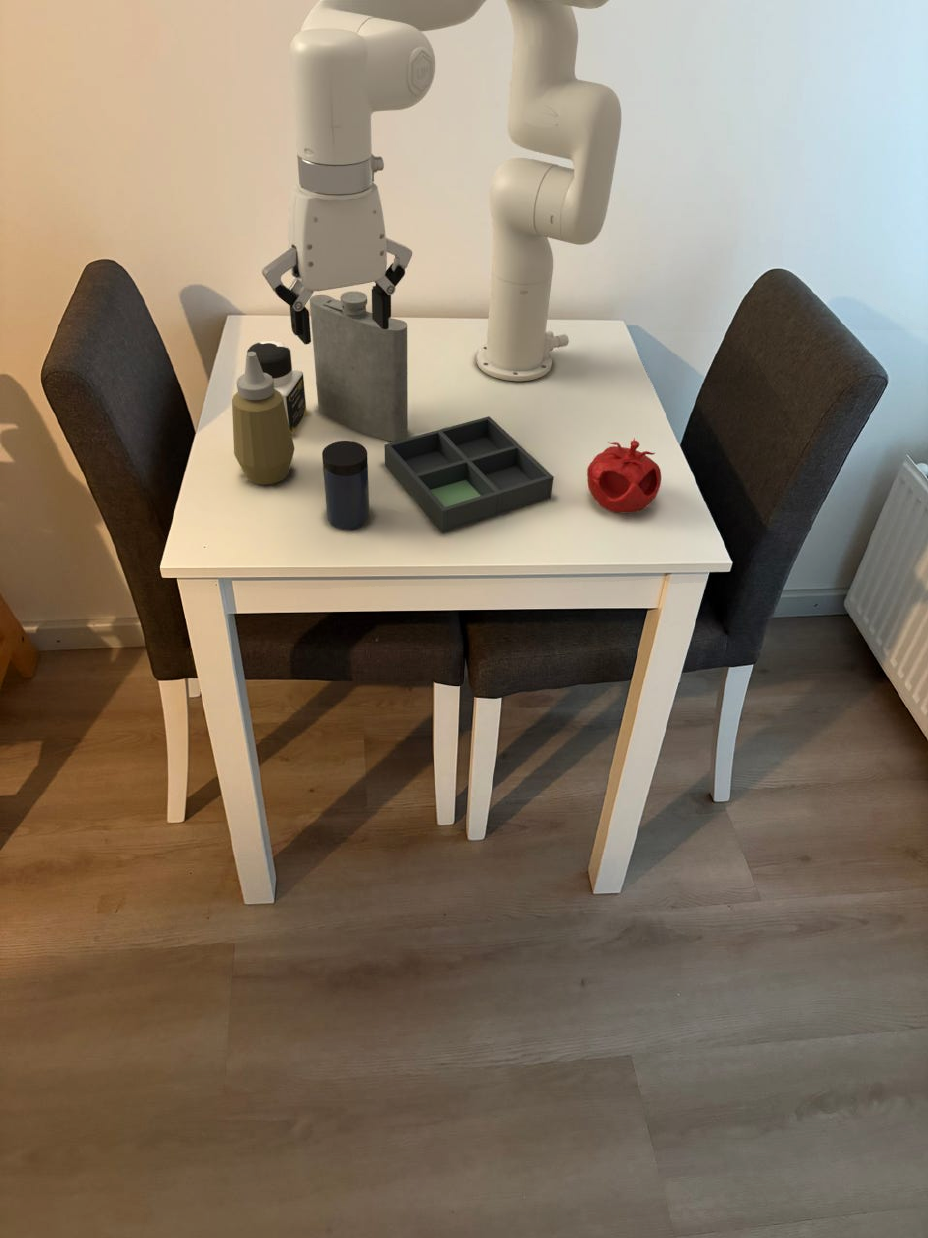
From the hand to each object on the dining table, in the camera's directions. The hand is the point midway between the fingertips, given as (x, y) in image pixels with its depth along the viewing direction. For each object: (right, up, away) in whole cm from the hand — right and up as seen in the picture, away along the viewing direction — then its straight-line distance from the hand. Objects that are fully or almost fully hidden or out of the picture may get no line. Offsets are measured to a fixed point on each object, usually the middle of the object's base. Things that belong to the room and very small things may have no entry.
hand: (342, 331), depth 103 cm
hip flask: (-2, -4, +31) cm, 31 cm away
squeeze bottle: (-13, -13, +21) cm, 28 cm away
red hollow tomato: (+36, -17, +20) cm, 44 cm away
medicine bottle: (-14, -4, +31) cm, 34 cm away
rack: (+14, -14, +21) cm, 29 cm away
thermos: (-1, -20, +15) cm, 25 cm away
